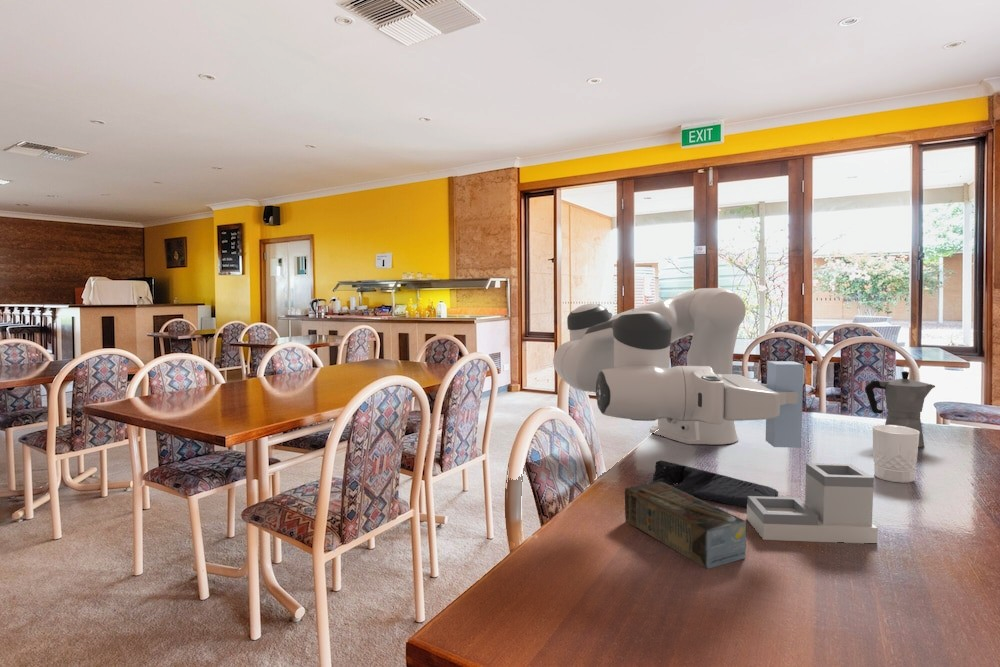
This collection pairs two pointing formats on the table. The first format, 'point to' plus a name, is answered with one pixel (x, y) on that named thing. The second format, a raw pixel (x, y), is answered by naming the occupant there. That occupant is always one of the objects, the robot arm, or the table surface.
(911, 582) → the table surface
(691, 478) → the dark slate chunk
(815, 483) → the stepped base with tray
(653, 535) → the beverage carton
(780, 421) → the plug
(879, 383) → the coffeepot
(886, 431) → the white cup
